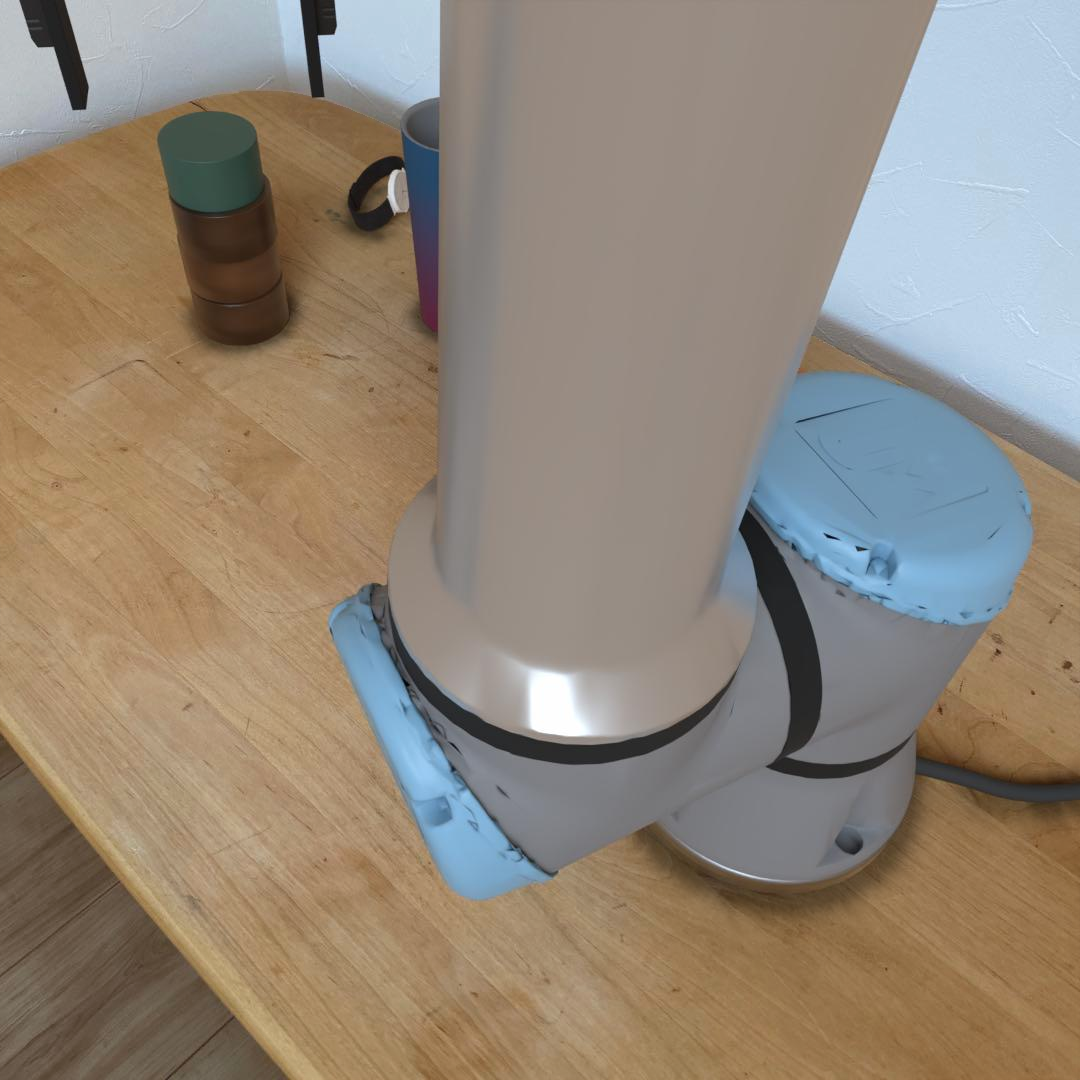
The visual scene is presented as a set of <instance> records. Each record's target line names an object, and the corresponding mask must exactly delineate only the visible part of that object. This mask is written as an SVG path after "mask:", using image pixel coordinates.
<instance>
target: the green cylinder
mask: <svg viewBox="0 0 1080 1080" xmlns="http://www.w3.org/2000/svg"><path fill="white" fill-rule="evenodd" d="M156 137H157V138H156V142H157V147H158V151H159V155H160V161H161V165H162V168H163V172H164V176H165V181H166V186H167V189H168V190H167V191H169V193H170V195H171V197H172V198H173V200H174V201H175V202H177V203H178V204H179V205H181V206H183V207H185V208H188V209H191V210H195V211H200V212H225V211H230V210H234V209H238V208H241V207H243V206H245V205H248V204H249V203H251V202H253V201H254V200H255V199H256V198H257V197H259V195H260V194H261V193H262V191H263V188H264V176H263V173H264V171H263V166H262V165H263V163H262V158H261V151H260V145H259V139H258V133H257V129H256V128H255V126H254V124H253V123H252V122H251V121H250V120H248V119H246V118H245V117H243V116H240V115H238V114H235V113H231V112H228V111H227V112H226V111H221V110H204V111H195V112H189V113H186V114H183V115H179V116H177V117H175V118H173V119H171V120H170V121H168V122H166V123H165V124H164V125H162V127H161V128H160V130H159V131H158V134H157V136H156Z"/></svg>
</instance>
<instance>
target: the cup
mask: <svg viewBox="0 0 1080 1080" xmlns="http://www.w3.org/2000/svg"><path fill="white" fill-rule="evenodd" d="M439 100H440V96H437V97H432V98H427V99H425V100H421V101H419V102H417V103H415V104H413V105H412V106H410V107H409V108H407V110H406V111H405V112H404V113H402V116H401V118H400V124H399V126H400V135H401V143H402V144H401V145H402V151H403V160H404V163H405V171H406V180H407V189H408V198H409V214H410V215H409V216H410V225H411V233H412V242H413V251H414V261H415V269H416V277H417V278H416V279H417V287H418V296H419V297H418V298H419V306H420V314H421V319H422V322H423V323H424V325H425V326H426V327H427V328H429V329H430V330H432V331H433V332H435V333H437V334H438V259H439Z"/></svg>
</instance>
